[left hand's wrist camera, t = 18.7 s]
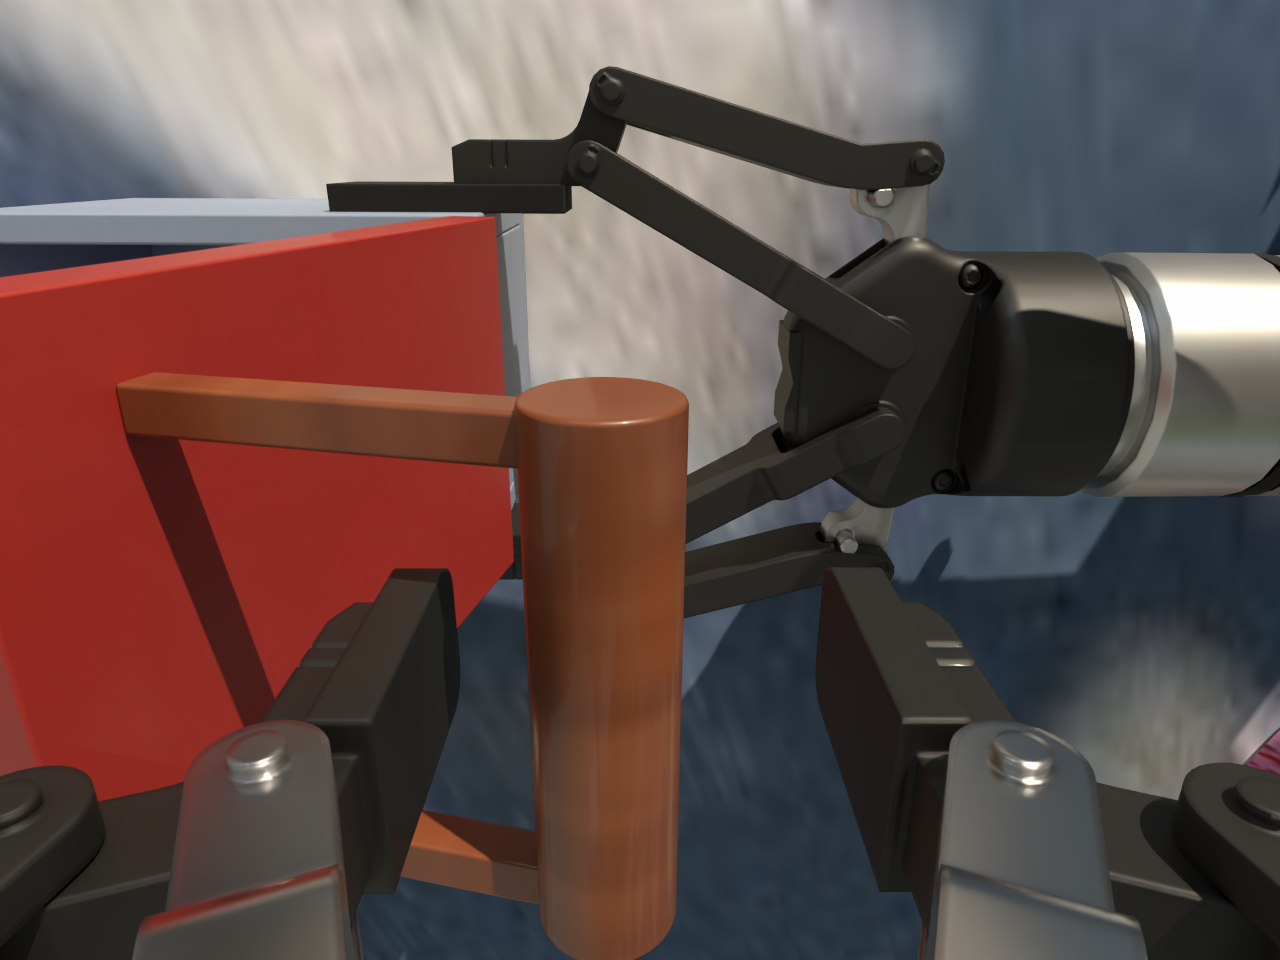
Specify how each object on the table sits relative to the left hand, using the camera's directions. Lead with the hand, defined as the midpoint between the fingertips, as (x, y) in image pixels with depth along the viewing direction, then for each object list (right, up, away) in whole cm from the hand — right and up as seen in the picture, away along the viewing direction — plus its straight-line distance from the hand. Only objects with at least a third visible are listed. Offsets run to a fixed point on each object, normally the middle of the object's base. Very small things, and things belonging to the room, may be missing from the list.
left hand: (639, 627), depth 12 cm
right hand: (-9, +5, +14) cm, 18 cm away
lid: (-7, +2, +5) cm, 8 cm away
